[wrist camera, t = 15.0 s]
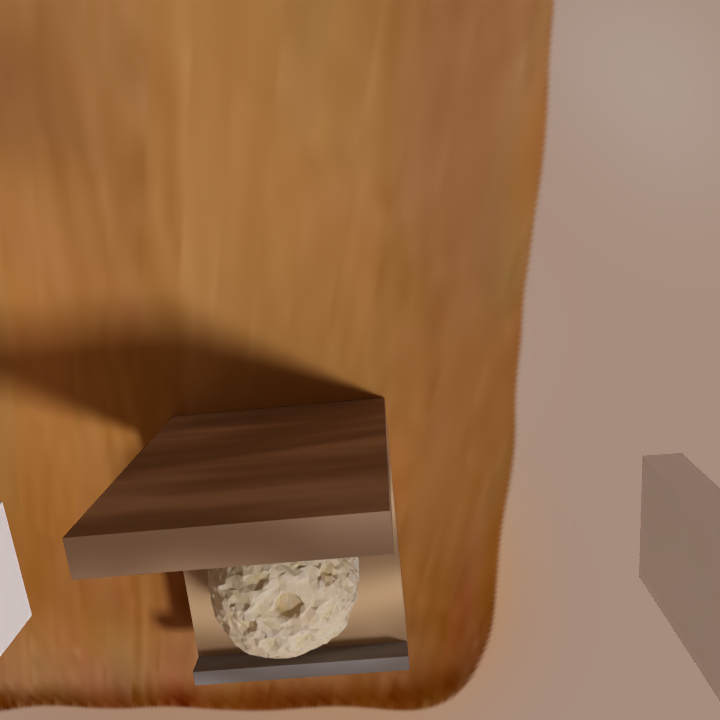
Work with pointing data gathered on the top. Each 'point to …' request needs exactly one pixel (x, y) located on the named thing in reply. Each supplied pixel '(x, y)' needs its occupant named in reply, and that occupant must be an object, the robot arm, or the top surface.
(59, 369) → the top surface
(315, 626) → the sponge
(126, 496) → the board
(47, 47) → the top surface
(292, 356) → the top surface
